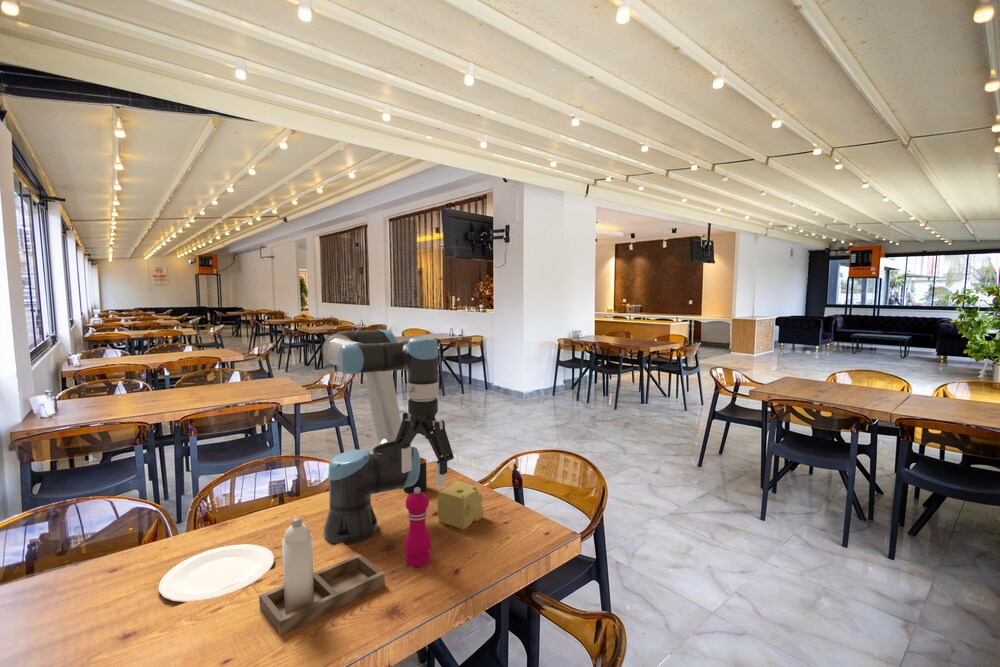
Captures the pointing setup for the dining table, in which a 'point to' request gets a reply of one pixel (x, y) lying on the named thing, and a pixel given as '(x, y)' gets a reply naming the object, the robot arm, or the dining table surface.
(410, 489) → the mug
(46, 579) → the dining table surface
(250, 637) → the dining table surface
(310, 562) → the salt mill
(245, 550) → the plate
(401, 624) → the dining table surface
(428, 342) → the robot arm
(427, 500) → the pepper mill
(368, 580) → the wooden compartment tray
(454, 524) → the cheese
